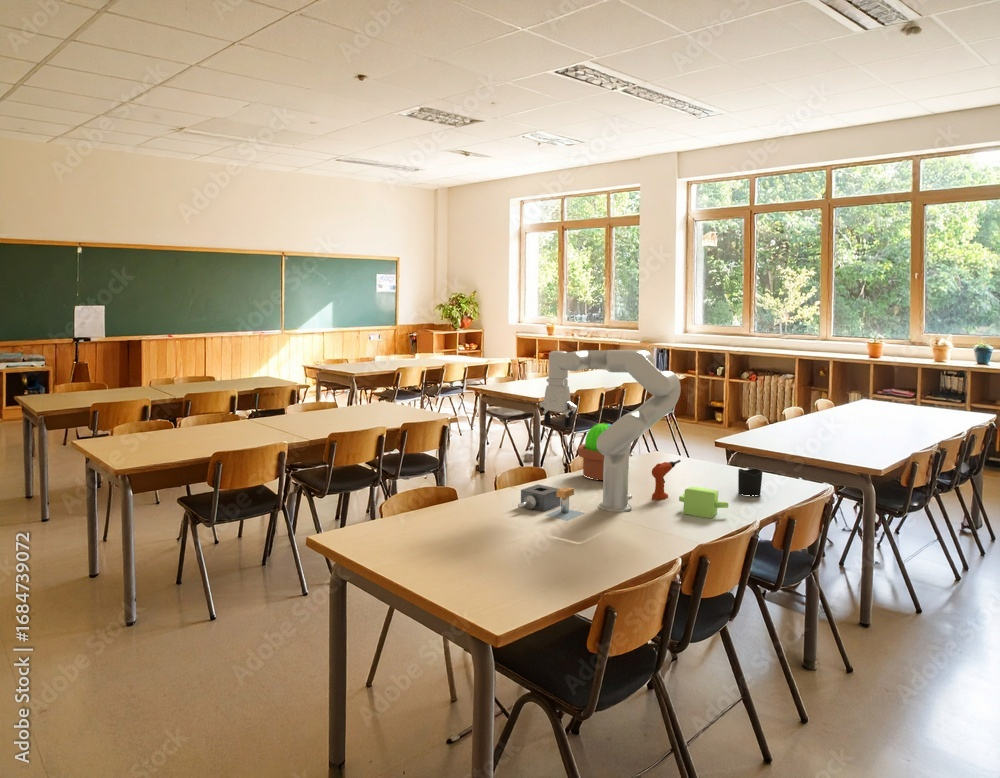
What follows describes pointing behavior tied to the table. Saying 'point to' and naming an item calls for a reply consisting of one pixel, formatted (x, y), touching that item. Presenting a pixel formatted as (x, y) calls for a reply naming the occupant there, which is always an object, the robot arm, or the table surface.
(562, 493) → the chuck key
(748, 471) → the pen holder
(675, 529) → the table surface
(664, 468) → the toy drill
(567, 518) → the key mat
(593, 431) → the potted cactus
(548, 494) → the block
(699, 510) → the gearbox
